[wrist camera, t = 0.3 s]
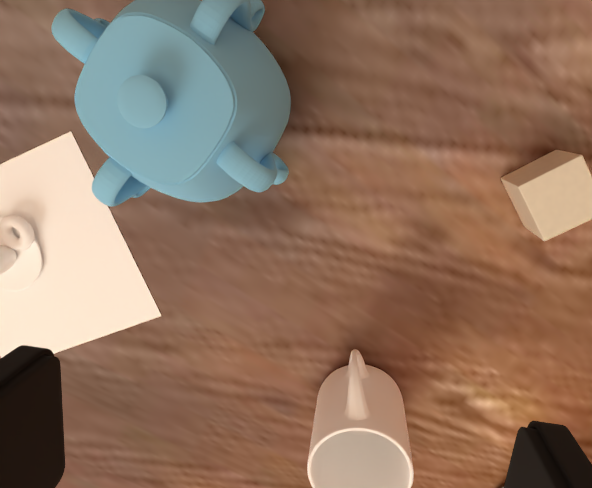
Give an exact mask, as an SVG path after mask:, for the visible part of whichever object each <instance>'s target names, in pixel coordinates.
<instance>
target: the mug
mask: <svg viewBox="0 0 592 488" xmlns="http://www.w3.org/2000/svg"><path fill="white" fill-rule="evenodd" d="M307 472H308V477H309V480H310V483H311V485H312V487H313V488H411V486H412V483H413V476H414V472H413V464H412V457H411V451H410V444H409V437H408V430H407V423H406V417H405V410H404V403H403V399H402V395H401V392H400V390H399V388H398V386H397V384H396V383H395V381H394V380H393V379H392V378H391V377H390V376H389V375H388V374H386V373H385V372H384V371H382V370H380V369H378V368H376V367H373V366H369V365H365V363H364V360H363V358H362V355H361V354H360V352H359V351H358V350H356V349H354V350H352V352H351V355H350V360H349V365H347V366H344V367H341V368H339V369H337V370H335V371H334V372H332V373H331V374H330V375H329V376H328V377H327V378H326V379H325V380H324V382H323V384H322V386H321V388H320V390H319V393H318V397H317V404H316V410H315V417H314V424H313V431H312V437H311V444H310V451H309V458H308V465H307Z"/></svg>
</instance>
